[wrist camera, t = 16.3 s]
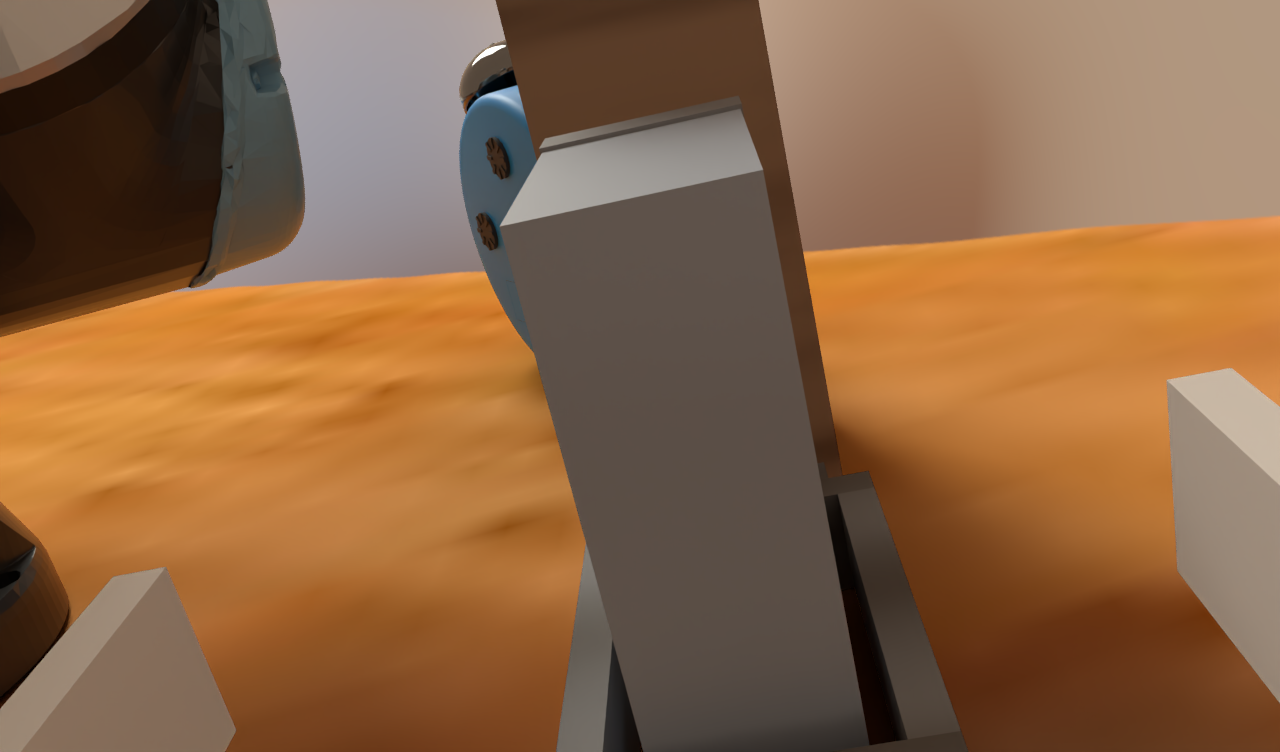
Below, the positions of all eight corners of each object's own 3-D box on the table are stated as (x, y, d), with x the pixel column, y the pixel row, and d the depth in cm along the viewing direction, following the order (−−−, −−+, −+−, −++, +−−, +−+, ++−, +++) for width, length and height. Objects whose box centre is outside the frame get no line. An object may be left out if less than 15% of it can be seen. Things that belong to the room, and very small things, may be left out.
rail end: (886, 825, 24) (764, 163, 19) (670, 858, 24) (494, 221, 19) (835, 609, 31) (738, 95, 26) (670, 638, 32) (545, 138, 27)
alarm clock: (744, 363, 50) (672, 10, 44) (624, 416, 47) (533, 49, 42) (603, 315, 61) (532, 27, 55) (499, 356, 58) (414, 59, 53)
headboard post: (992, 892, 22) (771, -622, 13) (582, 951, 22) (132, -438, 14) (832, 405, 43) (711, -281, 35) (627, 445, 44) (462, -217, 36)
